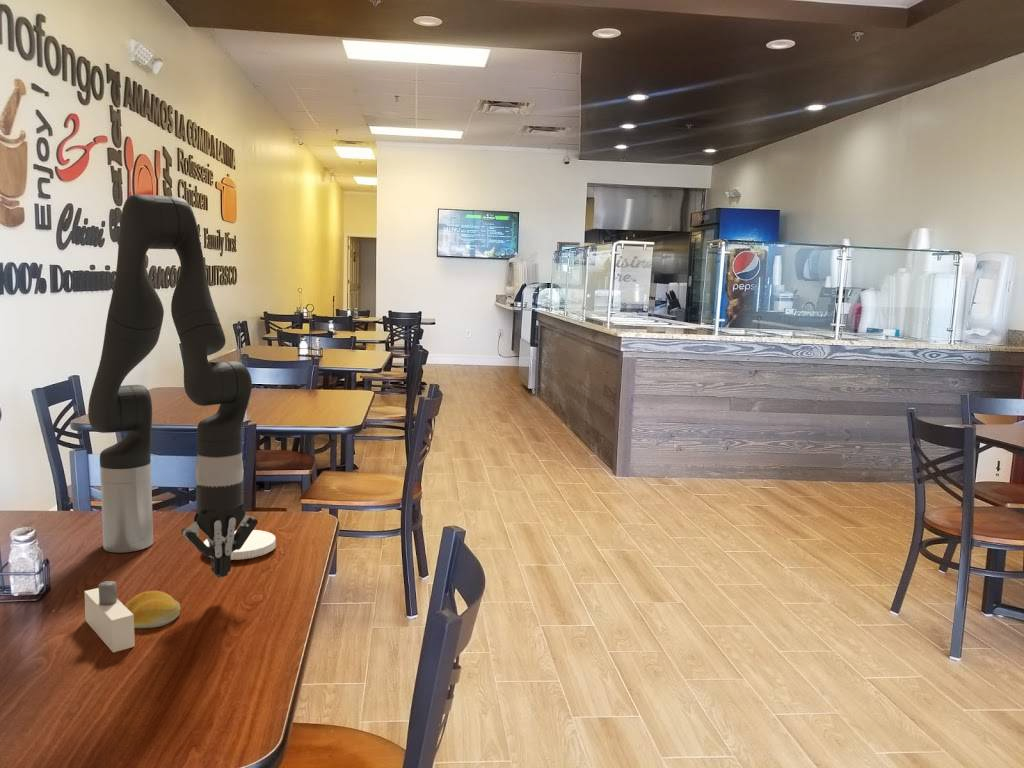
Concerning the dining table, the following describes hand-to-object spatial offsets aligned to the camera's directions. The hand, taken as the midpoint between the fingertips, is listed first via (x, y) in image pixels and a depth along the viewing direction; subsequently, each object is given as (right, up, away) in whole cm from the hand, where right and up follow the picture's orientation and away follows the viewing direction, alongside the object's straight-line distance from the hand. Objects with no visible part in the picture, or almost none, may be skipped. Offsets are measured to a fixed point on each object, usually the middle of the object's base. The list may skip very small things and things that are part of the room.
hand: (221, 575), depth 132 cm
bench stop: (-12, -6, -14) cm, 19 cm away
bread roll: (-8, -5, -8) cm, 13 cm away
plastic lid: (-5, -1, +24) cm, 24 cm away
